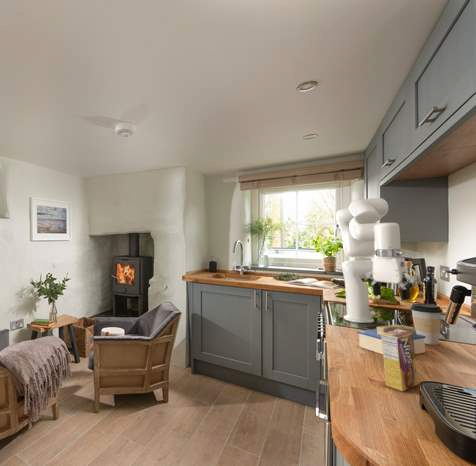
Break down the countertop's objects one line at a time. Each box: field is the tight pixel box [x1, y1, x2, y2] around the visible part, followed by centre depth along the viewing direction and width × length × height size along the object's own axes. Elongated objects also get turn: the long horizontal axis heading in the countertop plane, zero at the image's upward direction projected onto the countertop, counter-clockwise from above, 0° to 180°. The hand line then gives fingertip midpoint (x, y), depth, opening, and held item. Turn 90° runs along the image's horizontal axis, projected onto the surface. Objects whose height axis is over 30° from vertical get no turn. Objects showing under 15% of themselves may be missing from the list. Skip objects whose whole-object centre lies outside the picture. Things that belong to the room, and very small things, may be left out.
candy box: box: [381, 329, 419, 392], centre depth 85 cm, size 9×4×15 cm, turn 114°
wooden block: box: [376, 324, 416, 335], centre depth 113 cm, size 15×4×3 cm, turn 104°
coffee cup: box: [409, 303, 444, 346], centre depth 119 cm, size 9×9×15 cm
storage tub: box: [357, 328, 426, 355], centre depth 112 cm, size 17×13×6 cm
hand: (390, 297), depth 114 cm, fingers open, 9 cm apart
